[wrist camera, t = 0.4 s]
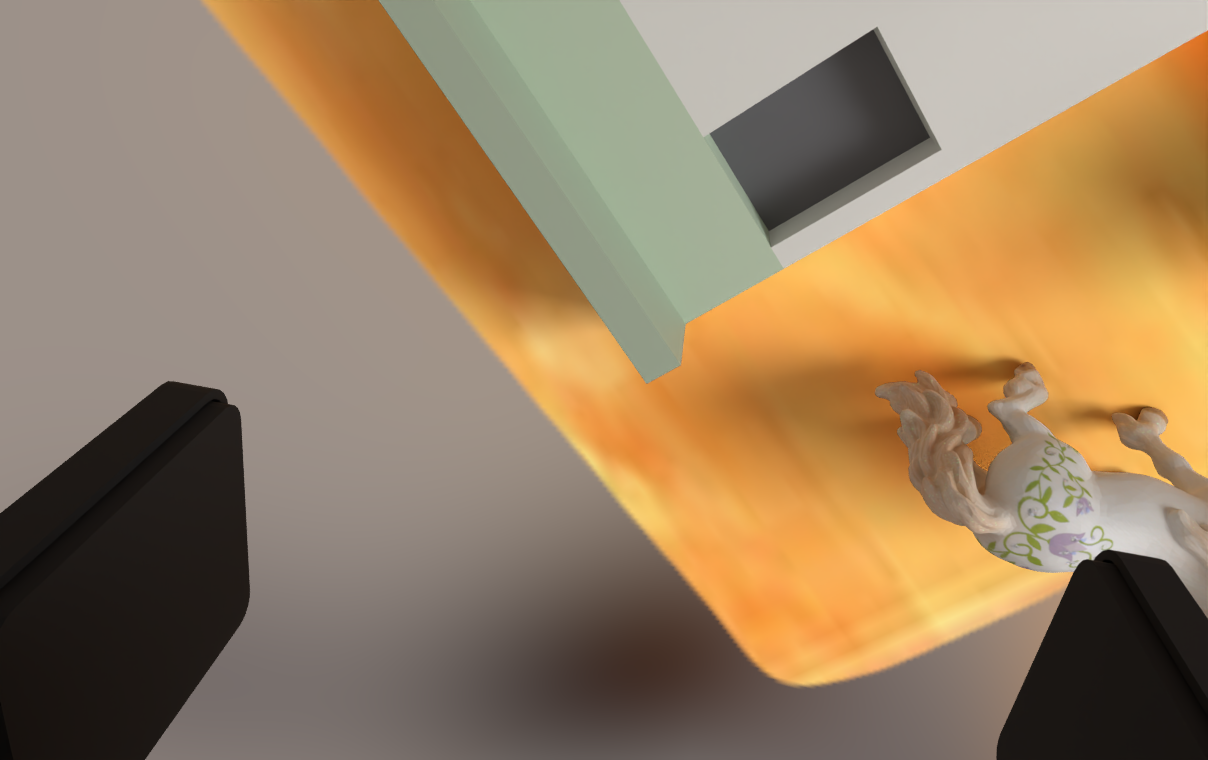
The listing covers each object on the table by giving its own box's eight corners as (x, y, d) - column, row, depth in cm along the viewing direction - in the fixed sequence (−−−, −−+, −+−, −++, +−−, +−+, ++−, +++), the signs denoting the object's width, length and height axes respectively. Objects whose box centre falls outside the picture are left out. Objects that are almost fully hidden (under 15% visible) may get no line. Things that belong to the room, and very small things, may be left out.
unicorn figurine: (1316, 501, 40) (1564, 740, 28) (858, 491, 43) (908, 707, 31) (1366, 350, 37) (1668, 547, 25) (869, 349, 40) (929, 527, 28)
